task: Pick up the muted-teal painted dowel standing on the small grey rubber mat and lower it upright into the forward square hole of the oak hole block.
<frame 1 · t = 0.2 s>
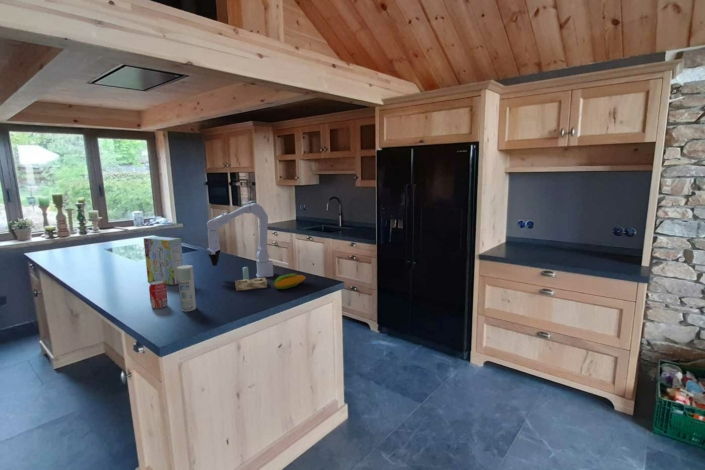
hand: (215, 264, 214), 10 cm above the countertop, tool pointing down, fingers open, 7 cm apart
peg: (246, 283, 210), resting on mat
spray can: (188, 309, 172), on the countertop
snack box: (166, 282, 215), on the countertop
mat: (246, 283, 210), on the countertop
hole block: (251, 287, 203), on the countertop
corn: (290, 287, 203), on the countertop
soda can: (159, 307, 175), on the countertop
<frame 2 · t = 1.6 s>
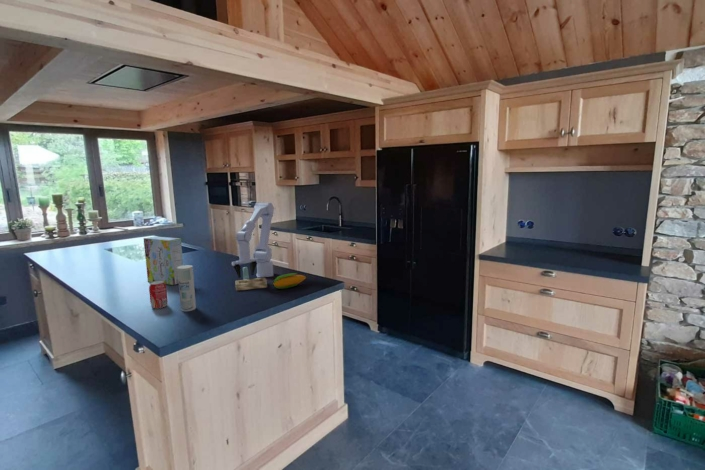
hand: (245, 276, 209), 4 cm above the countertop, tool pointing down, fingers open, 7 cm apart
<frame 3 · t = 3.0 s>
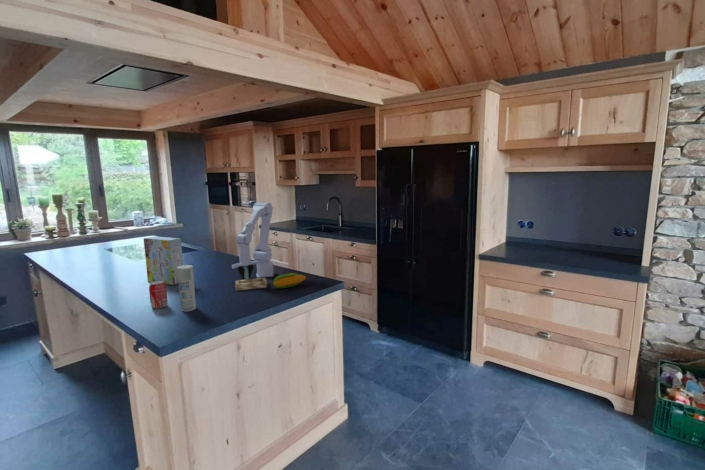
hand: (246, 278, 209), 3 cm above the countertop, tool pointing down, fingers closed on peg, 3 cm apart
peg: (246, 283, 210), resting on mat, touching gripper
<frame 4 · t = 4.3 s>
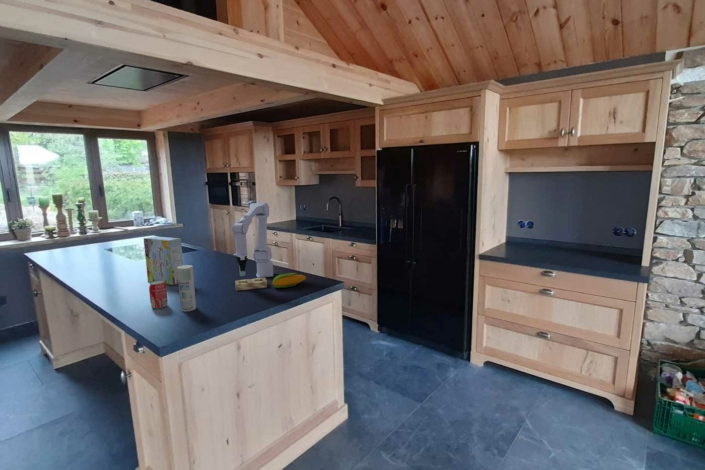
hand: (242, 270, 200), 10 cm above the countertop, tool pointing down, fingers closed on peg, 3 cm apart
peg: (242, 275, 200), point 7 cm above the countertop, touching gripper
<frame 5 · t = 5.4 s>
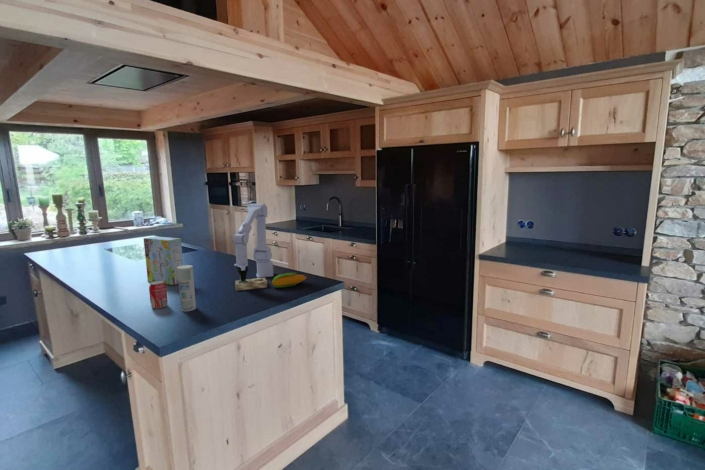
hand: (243, 280, 201), 4 cm above the countertop, tool pointing down, fingers closed on peg, 3 cm apart
peg: (243, 285, 201), point 2 cm above the countertop, touching gripper
when the fingers open (4 cm above the countertop, at t = 6.0 s): peg drops 2 cm, resting in hole block.
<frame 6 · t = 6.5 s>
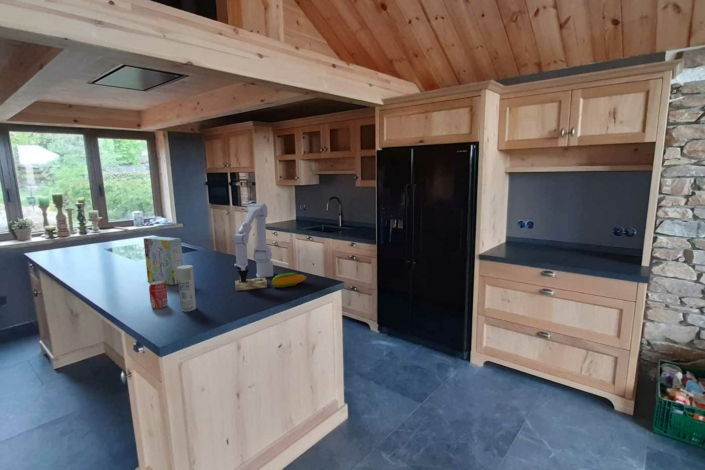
hand: (243, 280, 201), 4 cm above the countertop, tool pointing down, fingers open, 7 cm apart
peg: (243, 288, 202), resting in hole block
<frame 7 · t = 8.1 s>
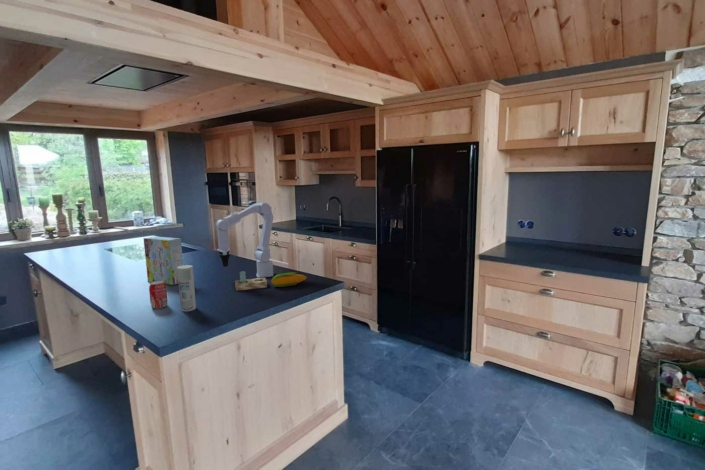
hand: (225, 264, 210), 10 cm above the countertop, tool pointing down, fingers open, 7 cm apart
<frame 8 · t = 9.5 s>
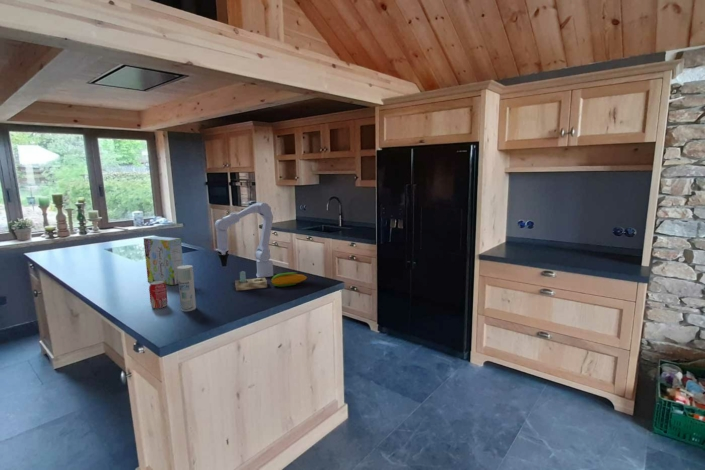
hand: (224, 264, 211), 10 cm above the countertop, tool pointing down, fingers open, 7 cm apart
at the end: peg 0.1 cm from the target spot on the hole block, point 0.0 cm above the hole block's base; peg tilted 0°; the gripper is holding nothing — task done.
